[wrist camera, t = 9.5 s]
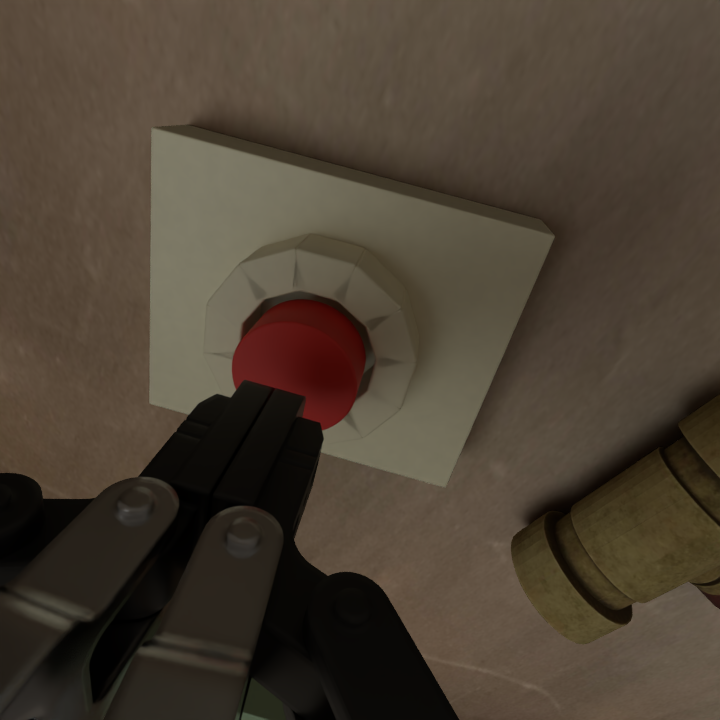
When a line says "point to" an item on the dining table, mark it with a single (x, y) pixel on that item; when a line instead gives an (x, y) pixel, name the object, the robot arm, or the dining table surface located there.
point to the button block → (335, 287)
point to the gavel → (630, 537)
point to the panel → (262, 704)
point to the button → (305, 357)
